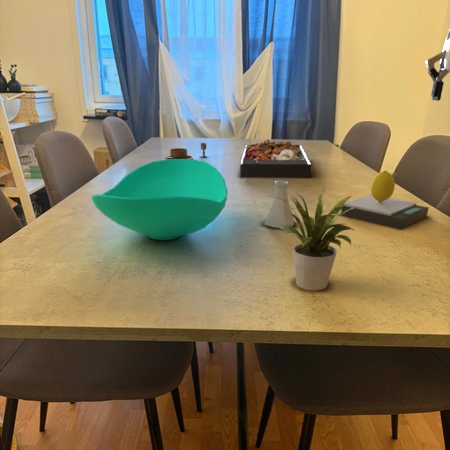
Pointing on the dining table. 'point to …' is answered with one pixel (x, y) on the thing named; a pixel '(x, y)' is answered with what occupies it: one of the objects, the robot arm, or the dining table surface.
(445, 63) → the robot arm
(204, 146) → the place setting
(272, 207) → the flask
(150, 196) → the table top decor
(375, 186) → the lemon
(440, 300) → the dining table surface
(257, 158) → the food platter
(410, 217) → the scale
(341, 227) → the house plant
